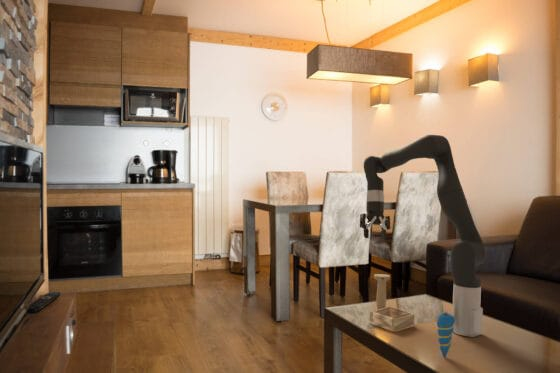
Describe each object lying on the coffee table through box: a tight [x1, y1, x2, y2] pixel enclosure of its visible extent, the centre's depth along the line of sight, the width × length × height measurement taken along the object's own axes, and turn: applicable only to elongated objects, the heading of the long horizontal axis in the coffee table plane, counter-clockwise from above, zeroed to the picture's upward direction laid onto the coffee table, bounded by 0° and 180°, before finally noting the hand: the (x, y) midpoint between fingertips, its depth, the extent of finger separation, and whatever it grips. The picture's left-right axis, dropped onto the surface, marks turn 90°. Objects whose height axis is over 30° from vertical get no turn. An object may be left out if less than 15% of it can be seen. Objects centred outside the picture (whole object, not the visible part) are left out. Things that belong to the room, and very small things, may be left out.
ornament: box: [436, 309, 455, 358], centre depth 143 cm, size 5×5×15 cm
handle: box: [373, 273, 391, 310], centre depth 189 cm, size 5×6×15 cm
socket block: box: [369, 306, 415, 333], centre depth 173 cm, size 12×12×5 cm
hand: (375, 238), depth 199 cm, fingers open, 8 cm apart
